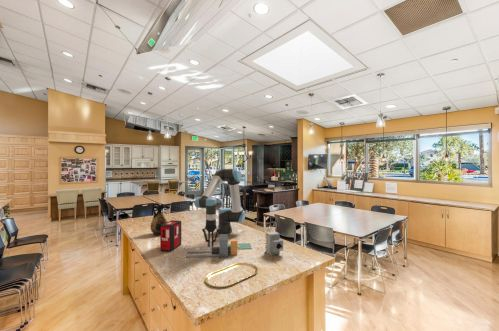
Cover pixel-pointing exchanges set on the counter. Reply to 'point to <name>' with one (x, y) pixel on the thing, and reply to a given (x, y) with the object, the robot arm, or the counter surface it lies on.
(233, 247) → the plug
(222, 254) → the housing
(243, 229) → the counter surface
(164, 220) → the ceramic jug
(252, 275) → the gold oval ring
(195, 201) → the robot arm
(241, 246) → the mat
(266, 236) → the circuit breaker
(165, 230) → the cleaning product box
